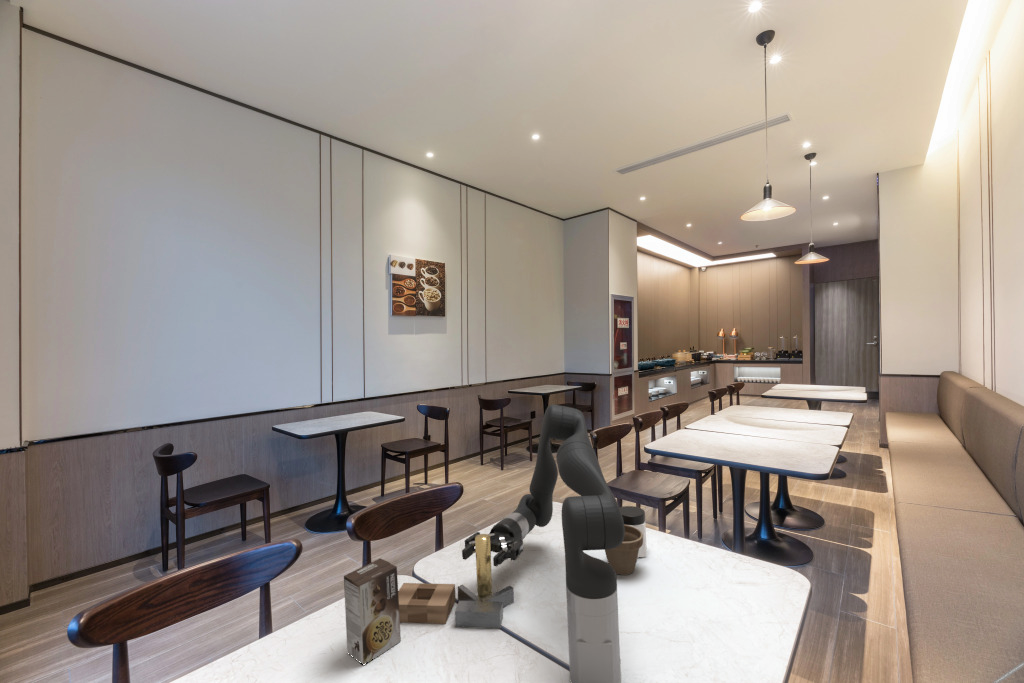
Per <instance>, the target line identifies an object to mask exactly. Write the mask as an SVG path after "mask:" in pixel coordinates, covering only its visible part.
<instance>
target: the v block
mask: <svg viewBox="0 0 1024 683" xmlns="http://www.w3.org/2000/svg"><path fill="white" fill-rule="evenodd" d="M514 592H515V591H514V587H513V586H511V585H508V586H506V587H504V588H502V589H499V590H497V591H495V592H492V594H491V595H489V596H486V597H484V598H482V599H481V598H480V597H478V596H477V594H476V593H475V592H473V591H472V590H470V589H469V588H468V587H466V586H465V585H464V584H460V585H458V586H457V601H458V603H457V605H456V607H455V610H454V618H455V620H454V621H455V623H454V624H455V628H469V629H470V628H471V629H472V628H473V629H474V628H475V629H497V630H498V629H501V628H502V623H503V619H504V611H503V609H504V608H506V607H508V606H510V605H512V604H514V603H515V597H514V596H515V595H514V594H515V593H514Z"/></svg>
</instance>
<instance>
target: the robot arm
mask: <svg viewBox="0 0 1024 683" xmlns="http://www.w3.org/2000/svg"><path fill="white" fill-rule="evenodd" d="M587 427H588V426H587V423H586V418H585V415H584V413H583V412H582V411H581V410H580V409H577V408H575V407H570V406H564V405H559V404H549V405H548V406H547V407H546V409H545V412H544V414H543V419H542V422H541V428H540V434H539V440H538V447H537V453H536V454H537V455H536V461H535V462H536V463H535V467H534V470H533V474H532V478H531V481H530V484H529V487H528V488H529V493H526V494H524V495H523V496H522V497H521V498H520V500H519V502H518V505H517V507H516V509H515V510H514V511H512V512H511V513H509V514H507V515H506V516H505V517H504V518H502V519H500V521H498V522H497V523H496V524H494V525H493V526H492V528H491V529H490V531H489V533H487V534H488V535H490V546H491V553H492V552H493V553H496V554H495V555H494V556H493V559H492V561H493V566H494V567H498V566H499V565H501V564H503V563H504V562H505V561H508V560H509V559H510V560H511V561H513V562H514V561H516V560H517V559H518V557H520V556H521V554H522V553H523V551H524V539H525V538H526V537H527V535H528V534H530V532H531V531H533V530H534V528H535V526H537V527H539V528H544V527H546V526H548V524H550V522H551V520H552V517H553V510H554V507H553V503H554V500H553V499H554V498H553V497H554V496H553V494H554V490H555V487H556V484H557V481H558V477H559V476H560V478H561V480H562V482H563V484H565V485H566V486H567V487H568V488H569V489H570V490H571V491H573V492H575V493H576V494H578V495H577V496H575V495H574V496H568V497H565V499H564V500H563V501H562V504H561V528H562V534H563V535H562V536H563V544H564V545H563V547H564V548H563V549H564V561H565V562H564V563H565V587H566V588H565V592H566V595H565V596H566V616H567V618H566V619H567V638H568V639H567V640H568V642H567V643H568V662H569V664H568V665H569V680H571V681H570V683H571V682H572V683H622V672H621V669H622V667H621V651H620V650H621V649H620V648H621V647H620V629H619V628H620V627H619V603H618V602H619V601H618V578H617V574H616V572H615V570H614V568H613V567H612V566H611V565H610V564H608V561H605V560H602V559H600V558H597V557H594V556H591V555H589V554H587V553H586V552H584V551H600V550H601V551H602V550H603V551H605V550H606V549H613V548H617V547H619V546H620V545H621V544H622V542H623V540H624V535H625V528H624V521H623V517H622V514H621V511H620V506H619V505H620V504H618V501H617V499H616V497H615V495H614V494H613V492H612V490H611V488H610V486H609V484H608V483H607V481H606V479H605V477H604V474H603V471H602V469H601V466H600V463H599V459H598V457H597V454H596V451H595V449H594V447H593V444H592V443H591V442H592V441H591V439H590V436H589V434H588V428H587ZM551 439H554V440H558V441H563V442H561V444H560V445H559V447H558V449H557V451H556V460H555V457H554V455H553V452H552V448H551V441H552V440H551ZM558 475H559V476H558ZM479 534H481V532H480V531H477V532H475V533H474V534H471V535H470V536H469V537H467V538H466V539H464V548H463V549H461V557H462V560H465V561H466V560H468V559H469V558H470V557H471V556H472V555H473V554H476V547H475V537H476V536H477V535H479Z"/></svg>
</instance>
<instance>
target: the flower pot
mask: <svg viewBox="0 0 1024 683" xmlns="http://www.w3.org/2000/svg"><path fill="white" fill-rule="evenodd" d="M624 528H625V535H624V540H623V542H622V544H621V545H620V546H619V547H617V548H613V549H606V550H604V552H605V556H606V560H607V561H606V562H607V563H608V564H610V565H611V566H612V567H613V568H614V570H615V572H616V575H621V576H627V575H631V574H633V573H634V572H635V568H636V564H637V561H638V558H637V557H638V552H639V548H640V547H641V546H642V544H643V533H642V532H641V531H640V530H639V529H637V528H635V527H632V526H629V525H624Z"/></svg>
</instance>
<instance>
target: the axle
mask: <svg viewBox="0 0 1024 683" xmlns="http://www.w3.org/2000/svg"><path fill="white" fill-rule="evenodd" d="M488 534H489V533H480V534H479V535H477V536H476V537H475V547H474V548H476V553H475V570H476V593H477V594H476V595H477V596H478V597H480V598H481V599H482V598H484V597H486V596H489V595H491V594H493V578H492V577H493V576H492V574H493V573H492V551H491V546H490V535H488Z"/></svg>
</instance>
